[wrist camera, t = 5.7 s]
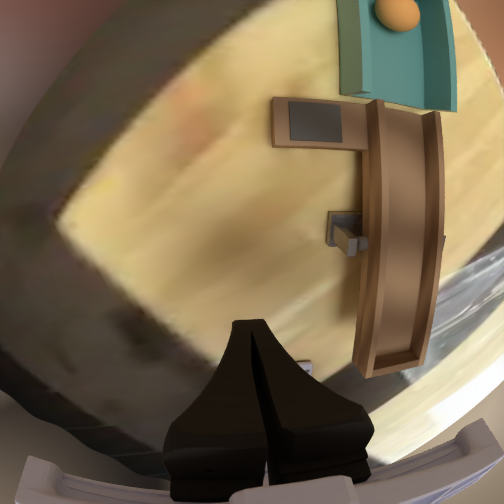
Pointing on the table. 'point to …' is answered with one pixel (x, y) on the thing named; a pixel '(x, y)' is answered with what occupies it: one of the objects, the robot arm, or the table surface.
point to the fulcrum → (346, 231)
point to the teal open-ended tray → (398, 56)
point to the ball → (398, 14)
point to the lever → (384, 217)
